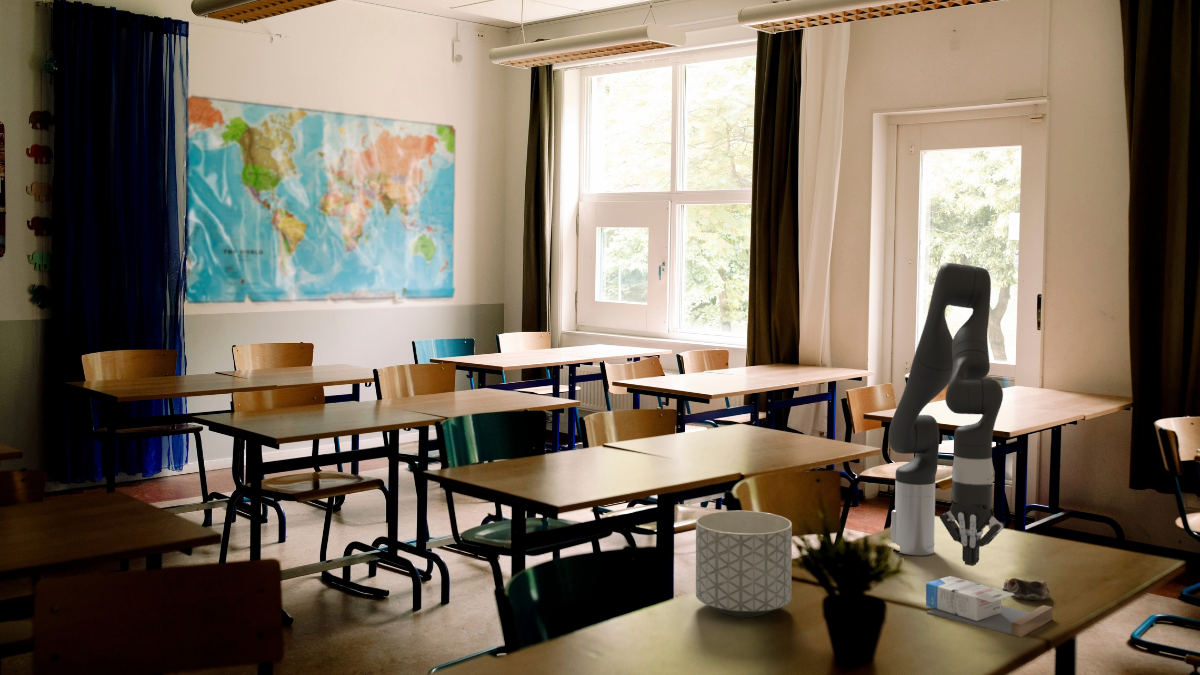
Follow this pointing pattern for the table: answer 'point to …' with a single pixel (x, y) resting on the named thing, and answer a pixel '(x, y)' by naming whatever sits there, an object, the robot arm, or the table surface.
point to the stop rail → (1031, 621)
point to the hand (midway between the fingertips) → (970, 564)
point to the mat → (988, 619)
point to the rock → (1027, 589)
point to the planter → (743, 562)
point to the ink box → (964, 598)
